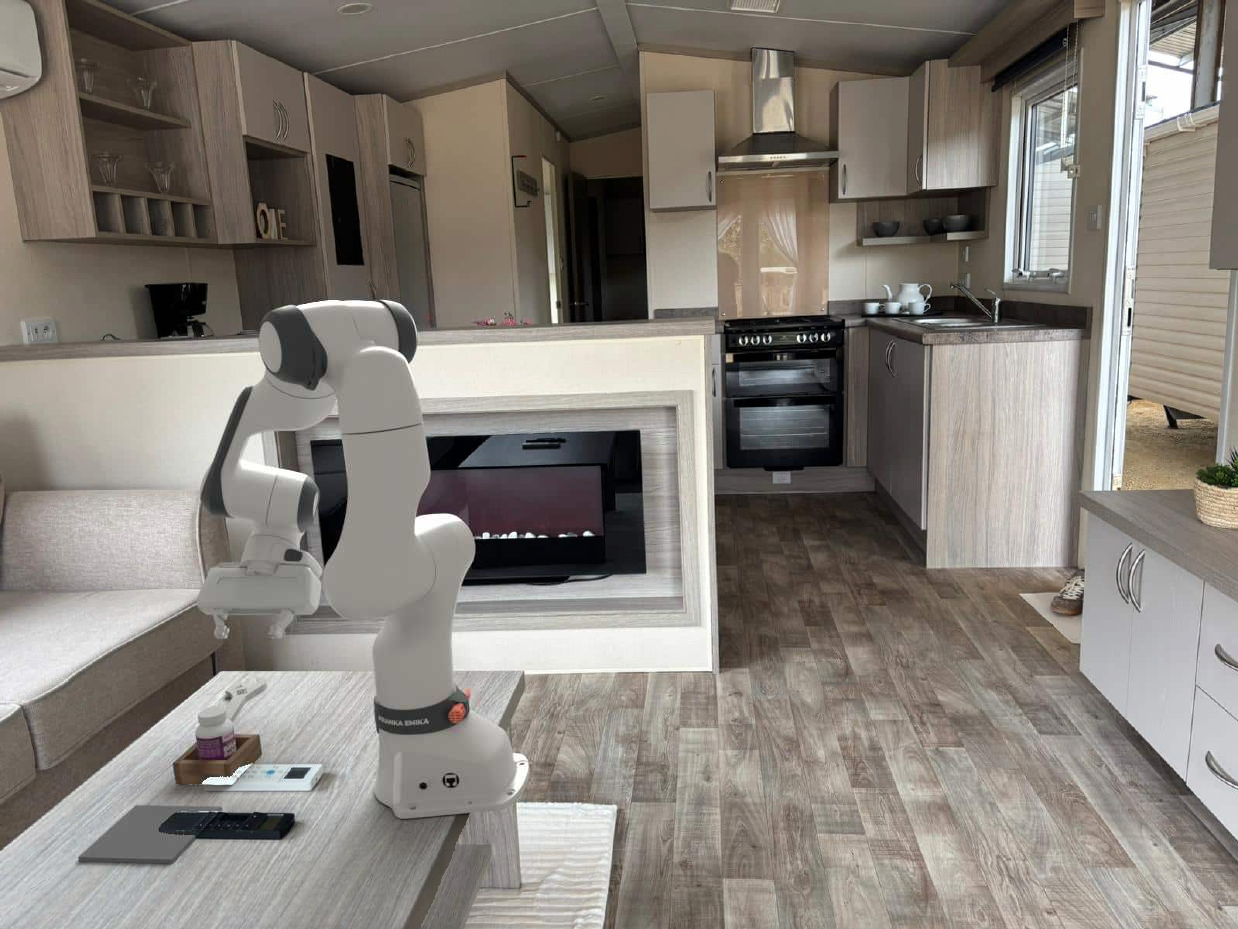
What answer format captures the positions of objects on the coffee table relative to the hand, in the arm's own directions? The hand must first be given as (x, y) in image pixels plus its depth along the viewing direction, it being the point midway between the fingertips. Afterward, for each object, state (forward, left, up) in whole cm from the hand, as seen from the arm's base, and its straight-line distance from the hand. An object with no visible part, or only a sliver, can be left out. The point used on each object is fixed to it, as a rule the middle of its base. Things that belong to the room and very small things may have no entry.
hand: (247, 637), depth 149 cm
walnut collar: (0, +12, -16) cm, 21 cm away
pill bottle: (0, +12, -17) cm, 21 cm away
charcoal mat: (0, +29, -16) cm, 34 cm away
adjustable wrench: (+9, -6, -17) cm, 20 cm away
